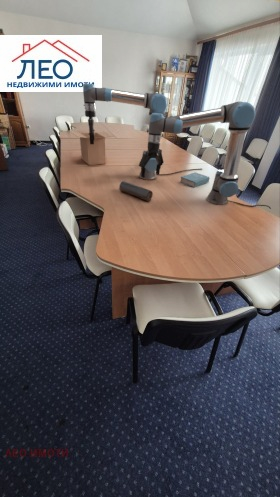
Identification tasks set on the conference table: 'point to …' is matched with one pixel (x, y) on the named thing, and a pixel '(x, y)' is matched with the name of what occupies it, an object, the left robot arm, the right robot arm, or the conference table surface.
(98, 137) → the box
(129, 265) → the conference table surface
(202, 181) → the book
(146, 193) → the rod
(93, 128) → the left robot arm
